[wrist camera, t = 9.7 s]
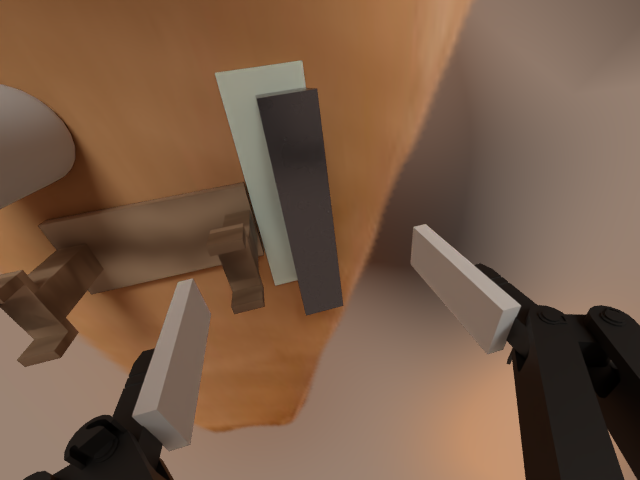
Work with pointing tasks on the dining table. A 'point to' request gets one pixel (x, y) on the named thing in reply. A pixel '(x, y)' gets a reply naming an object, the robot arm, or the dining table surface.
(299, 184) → the rail
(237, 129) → the mat
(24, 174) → the cup
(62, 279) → the stand
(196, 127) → the dining table surface
